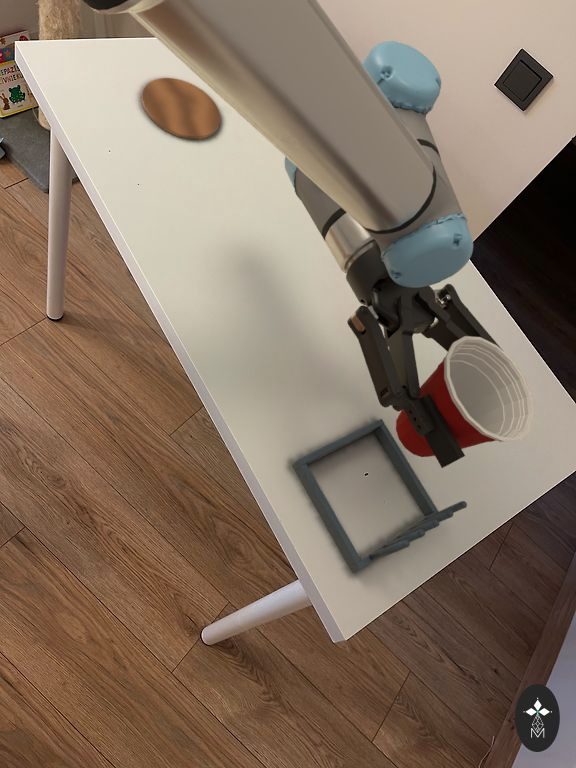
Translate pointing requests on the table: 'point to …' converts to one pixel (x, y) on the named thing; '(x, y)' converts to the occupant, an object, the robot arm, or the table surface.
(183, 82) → the wooden coaster
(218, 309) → the table surface
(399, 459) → the grey square frame
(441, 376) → the plastic cup
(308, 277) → the table surface
